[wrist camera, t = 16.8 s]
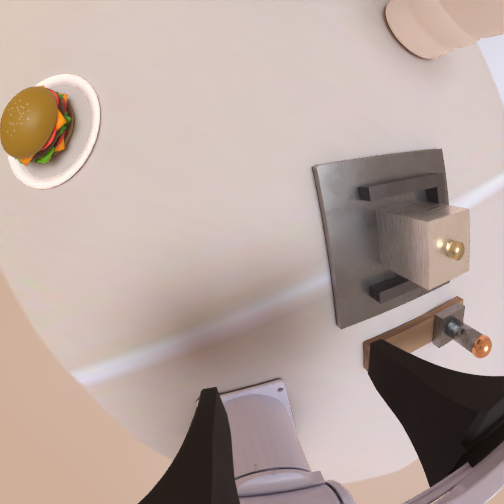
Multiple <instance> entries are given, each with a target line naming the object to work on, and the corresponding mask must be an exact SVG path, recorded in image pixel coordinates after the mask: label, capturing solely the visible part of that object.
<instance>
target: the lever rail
mask: <svg viewBox="0 0 504 504" xmlns="http://www.w3.org/2000/svg"><path fill="white" fill-rule="evenodd" d="M457 302H458V303H460V304H462V305H463V299H462V298H460V297H458V296H457V297H456V298H454V299H452V300H450V301H448V302H447V303H445V304H443V305H441V306H439V307H437V308H435V309H433V310H432V311H430V312H428V313H426V314H424V315H422V316H420V317H418V318H416V319H414V320H412V321H409V322H407V323H405V324H403V325H401V326H399V327H397V328H394V329H392V330H390V331H388V332H386V333H383V334H381V335H379V336H376V337H374V338H372V339H369V340H367V341H365V342H364V368H365V369H366V370H367V371H368V367H369V354H370V343H372V342H374V341H377V340H379V339H383V340H385V341H387V342H389V343H391V344H392V345H394V346H396V347H398V348H400V349H402V350H404V351H406V352H408V353H411V352H413V351H415V350H417V349H418V348H420V347H422V346H424V345H426V344H428V343H429V342H431V341H433V334H434V324H435V314H437V313H439V312H441V311H443V310H444V309H446V308H448V307H450V306H452V305H453V304H455V303H457Z"/></svg>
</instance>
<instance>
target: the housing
mask: <svg viewBox="0 0 504 504" xmlns="http://www.w3.org/2000/svg"><path fill="white" fill-rule="evenodd" d="M375 212H376V220H377V229H378V239H379V249H380V262H381V266H383V267H385V268H387V269H389V270H391V271H393V272H395V273H397V274H399V275H401V276H402V277H404V278H406V279H408V280H410V281H412V282H414V283H416V284H418V285H419V286H421V287H423V288H425V289H427V290H430V289H433V288H435V287H437V286H439V285H441V284H443V283H445V282H447V281H449V280H451V279H453V278H455V277H457V276H459V275H461V274H463V273H465V272H467V271H469V257H470V217H469V209H466V208H461V207H455V206H449V205H443V204H437V203H431V202H424V201H418V200H416V201H412V202H408V203H404V204H399V205H395V206H391V207H387V208H383V209H379V210H375Z"/></svg>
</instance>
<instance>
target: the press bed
mask: <svg viewBox="0 0 504 504" xmlns="http://www.w3.org/2000/svg"><path fill="white" fill-rule="evenodd" d="M312 168H313V173H314V178H315V183H316V188H317V193H318V198H319V203H320V209H321V214H322V220H323V226H324V232H325V238H326V244H327V250H328V257H329V264H330V271H331V278H332V286H333V294H334V302H335V310H336V320H337V325H338V327H339V328H340V329H343V328H346V327H348V326H351V325H354V324H356V323H359V322H361V321H364V320H367V319H369V318H372V317H374V316H376V315H379V314H381V313H384V312H386V311H389V310H391V309H393V308H396V307H398V306H400V305H402V304H405V303H407V302H409V301H411V300H414V299H416V298H418V297H420V296H422V295H424V294H427V293H429V292H431V291H433V290H435V289H437V288H439V287H441V286H443V285H445V284H447V283H449V282H450V280H449V281H447V282H445V283H443V284H441V285H439V286H437V287H435V288H433V289H430V290H427V289H425V288H423V287H421V286H419V285H418V284H416V283H414V282H412V281H410V280H408V279H406V278H404V277H402V276H401V275H399V274H397V273H395V272H393V271H391V270H389V269H387V268H385V267H383V266H381V262H380V249H379V239H378V229H377V220H376V212H375V210H379V209H383V208H387V207H391V206H395V205H399V204H404V203H408V202H412V201H416V200H418V201H424V202H431V203H437V204H443V205H449V201H448V191H447V181H446V173H445V166H444V159H443V153H442V149H432V150H422V151H413V152H405V153H396V154H389V155H381V156H374V157H367V158H361V159H354V160H348V161H342V162H336V163H330V164H324V165H319V166H313V167H312Z"/></svg>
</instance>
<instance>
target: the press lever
mask: <svg viewBox="0 0 504 504" xmlns="http://www.w3.org/2000/svg"><path fill="white" fill-rule="evenodd" d="M464 310H465V306H464V305H462V304H460V303H458V302H457V303H455V304H453V305H452V306H450V307H448V308H446V309H444V310H443V311H441V312H439V313H437V314H435V324H434V334H433V342H432V343H433V344H435V345H436V346H437V347H438V348H440V347H442V346H443V345H445V344H447V343H448V342H450V341H451V340H455V341H456V342H457V343H459V344H460V345H462V346H463V347H464V348H466V349H467V350H469V351H470V352H471V353H473V355H474V356H475V357H477V358H484V357H486V356H487V355H488V354H489V352H490V350H491V347H492V343H491V340H490V338H489V337H488V336H485V335H482V334H481V333H479V332H478V331H476V330H475V329H473V328H471V327H470V326H468V325H467V324H465V323H463V317H464Z"/></svg>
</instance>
